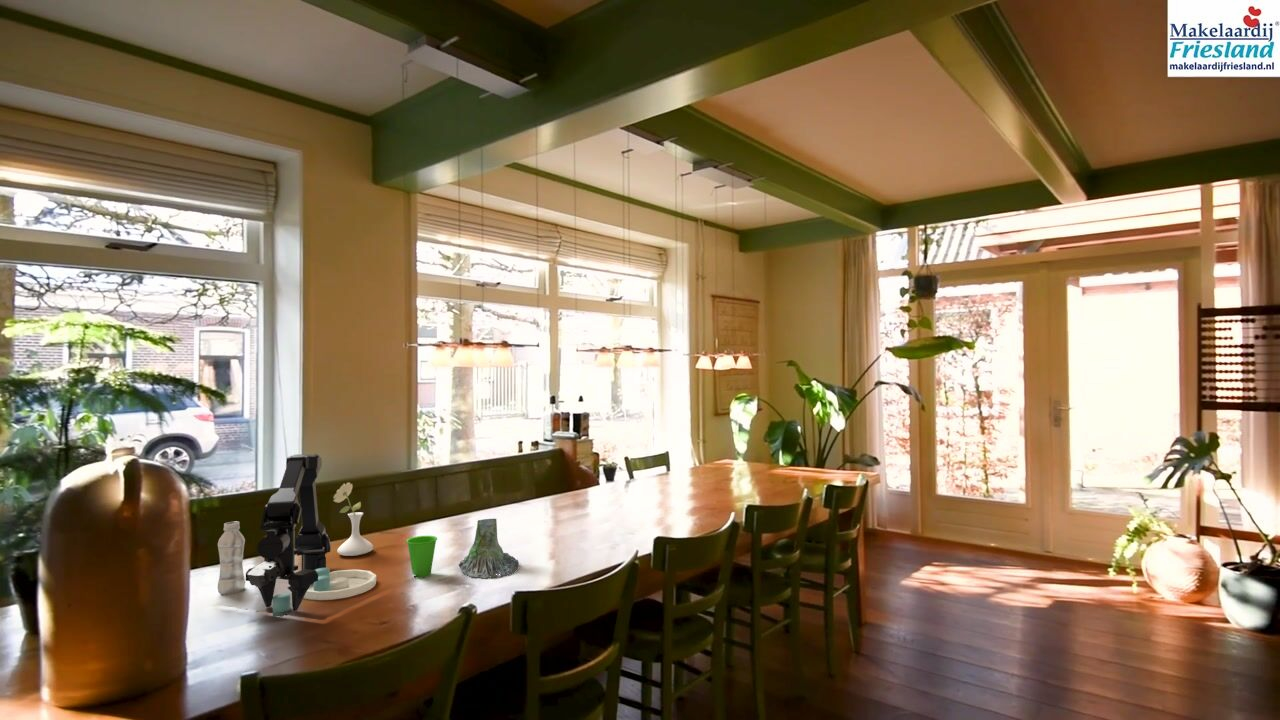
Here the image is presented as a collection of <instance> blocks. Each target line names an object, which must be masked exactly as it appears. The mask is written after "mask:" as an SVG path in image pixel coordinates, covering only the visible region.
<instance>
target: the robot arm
mask: <svg viewBox="0 0 1280 720" xmlns="http://www.w3.org/2000/svg"><path fill="white" fill-rule="evenodd" d="M285 460H286V461H285V470H284V473H283V476H282V480H281V483H280V486H279V488H278V491H277V492H275V493H273V494H272V495H270V498H269V500H268V501H267V504H265V506H264V508H263V509H264V510H263V513H262V517H261V524H260V531H266V533H265V534H266V535H265V536H264V537H262V538H261V539H260V540H259V542H258V543H257V546H256V549H257V553H258V555H259V556H260V557H262V558H263V559H264V561H263V562H262V563H259V564H257V565H256V566H254V567H251V568H248V570H247V571H246V572H245V582H249V584H250V585H251V586H254V587H256V588H257V590H258V591H259V593H260V594H261V597H262V600H263V602H264V603H263V604H264V606H265V608H270V607H271V606H272V604H273V597H274V594H275V588H276V585H277V580H284V581H285V580H286V581H287V584H288V585H289V586H287V589H288V591H290V592H291V607H292V611H293V612H296V611H298V609H299V608H300V605H301V604H302V601H303V599H304V596H305V594H306V592H307V590H308V588H309V587H310V585H311V584H314V582H316V581H318V572H317V571H316V569H319V568H327V557H326V555H327V554H328V553H331V551H332V549H331V547H332V546H331V541H330V538H329V535H328V533H327V532H326V526H325V525H324V524H323V523H322V522H321V521H320V520H319V510H318V508H319V507H318V499H317V487H316V486H317V485H316V480H317V478H318V475H319V473H320V471H321V468H322V465H323V464H322V463H323V460H322V457H320V455H318V453H310V454H309V453H308V454H304V453H303V454H293V455H290V456H287V457H286V459H285ZM298 494H299V496H298ZM298 497H299V498H298ZM300 517H301V527H300V528H299V531H298V533H297V536H296V534H295V533H296V531H295V528H296V527H297V525H298V524H299V522H300ZM295 536H296V538H295ZM295 556H297V557H298V556H301V570H300V571H298V570H299V565H296V564H295V559H296V558H295ZM295 571H297V572H295Z"/></svg>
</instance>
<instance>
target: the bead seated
mask: <svg viewBox="0 0 1280 720" xmlns="http://www.w3.org/2000/svg"><path fill="white" fill-rule="evenodd" d="M316 571H317V572H318V576H330V572H331V570H330V568H329V567H326V568H319V569H316Z"/></svg>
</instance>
